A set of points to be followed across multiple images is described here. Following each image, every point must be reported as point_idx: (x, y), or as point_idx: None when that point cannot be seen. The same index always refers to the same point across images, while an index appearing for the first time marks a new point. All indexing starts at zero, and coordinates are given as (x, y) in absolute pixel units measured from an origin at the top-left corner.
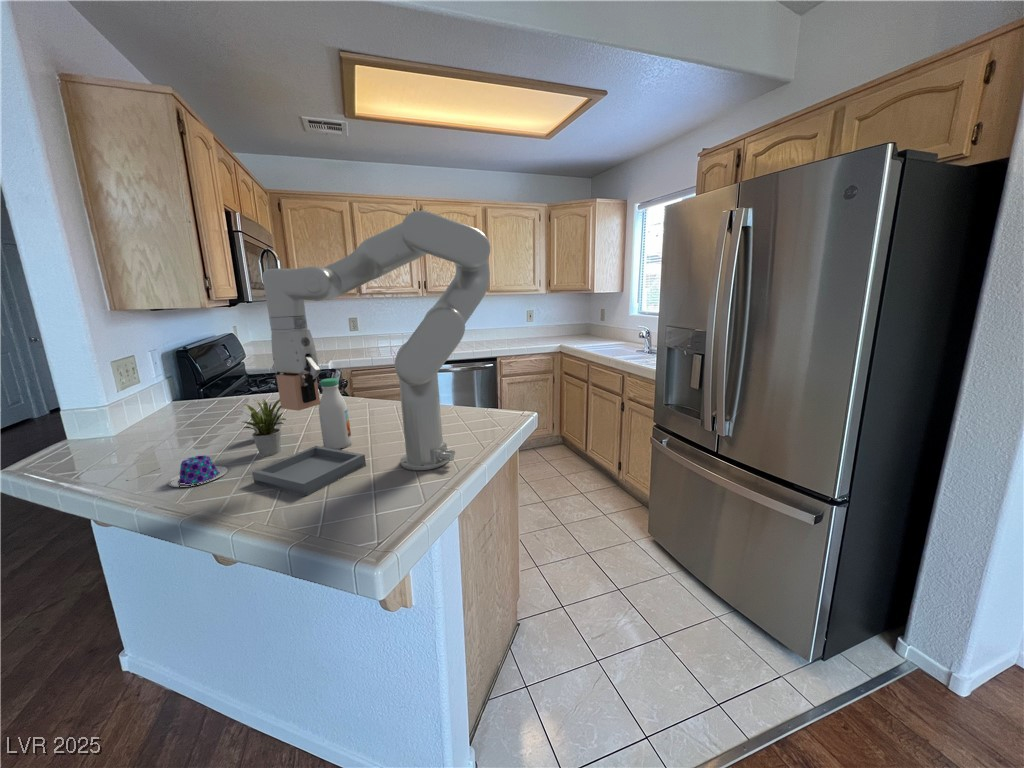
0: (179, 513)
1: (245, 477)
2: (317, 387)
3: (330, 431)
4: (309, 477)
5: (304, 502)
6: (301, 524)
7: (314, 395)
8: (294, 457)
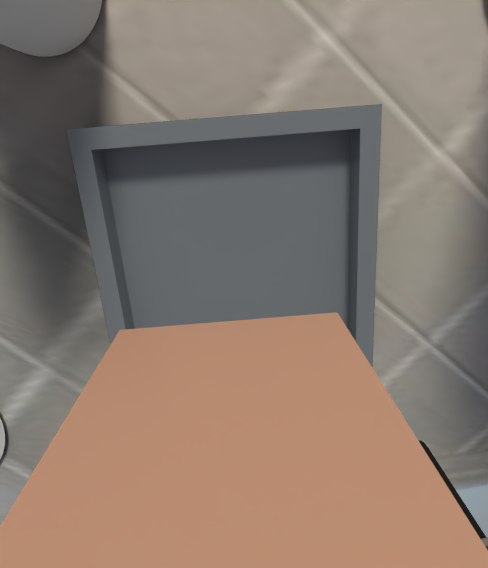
0: None
1: (57, 365)
2: (395, 412)
3: (37, 19)
4: (284, 298)
5: (384, 374)
6: (466, 432)
7: (427, 450)
8: (113, 255)
